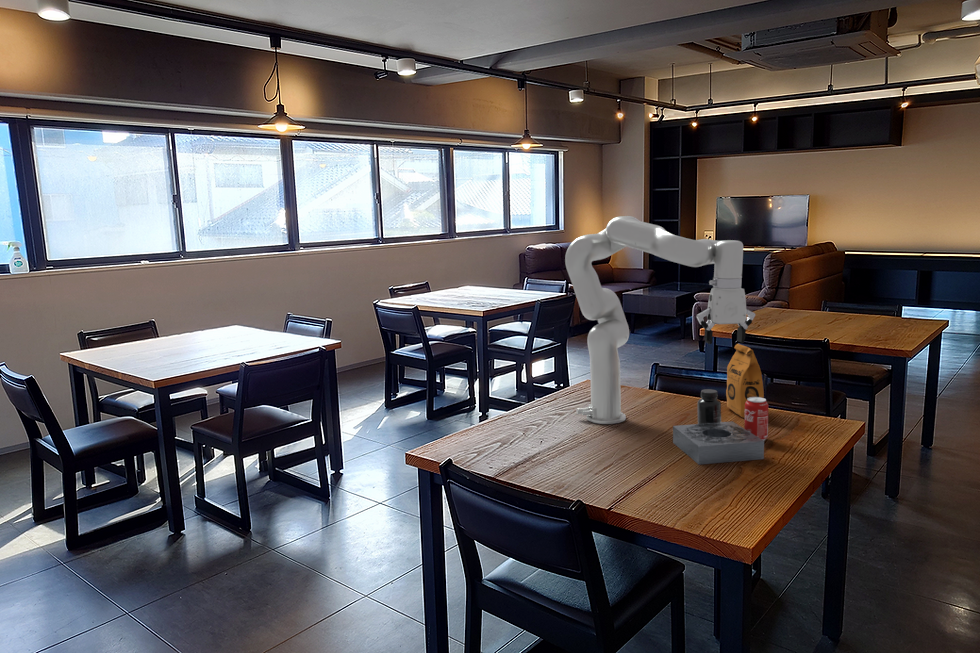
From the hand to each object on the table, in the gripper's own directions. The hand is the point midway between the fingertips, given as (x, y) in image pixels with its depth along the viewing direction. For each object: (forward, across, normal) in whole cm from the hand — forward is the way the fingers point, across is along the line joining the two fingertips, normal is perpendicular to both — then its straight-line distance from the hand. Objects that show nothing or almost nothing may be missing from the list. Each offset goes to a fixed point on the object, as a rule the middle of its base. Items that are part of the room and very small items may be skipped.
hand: (724, 342), depth 199 cm
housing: (+28, -7, -13) cm, 31 cm away
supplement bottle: (+28, -1, +5) cm, 29 cm away
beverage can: (+28, +8, -7) cm, 29 cm away
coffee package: (+28, +17, +18) cm, 37 cm away
